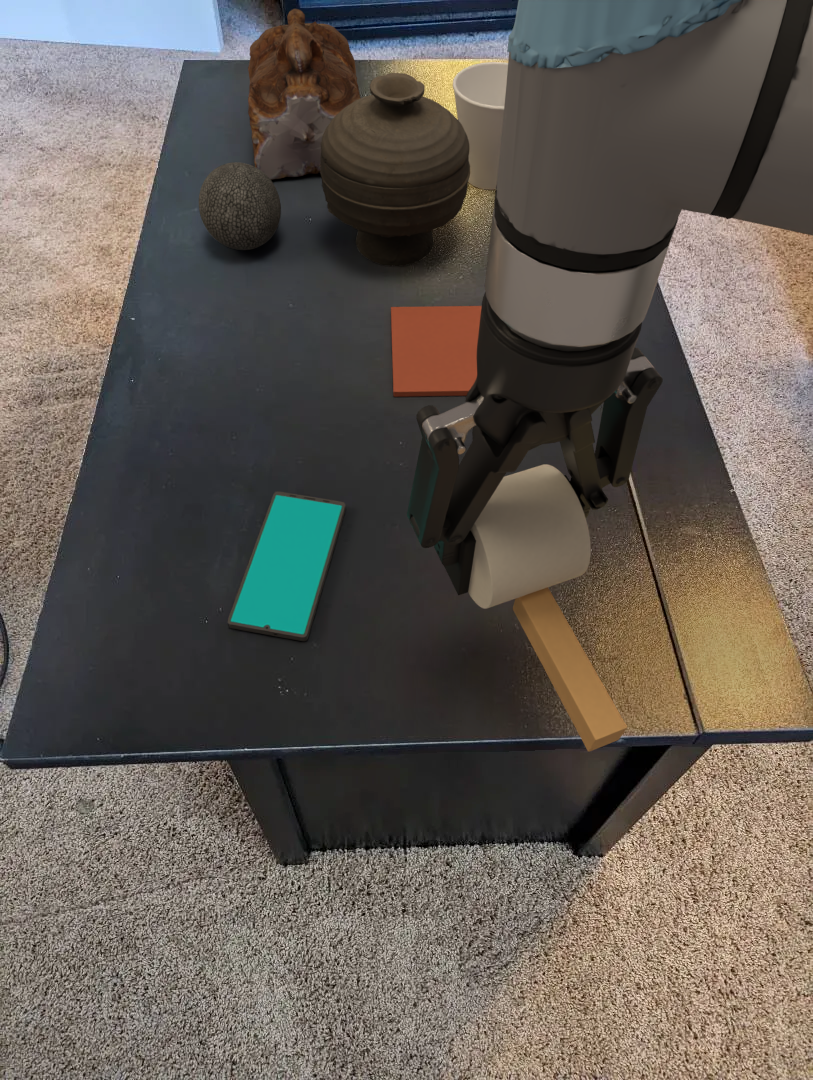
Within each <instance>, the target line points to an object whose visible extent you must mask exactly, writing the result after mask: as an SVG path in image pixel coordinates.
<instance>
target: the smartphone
mask: <svg viewBox="0 0 813 1080" xmlns="http://www.w3.org/2000/svg"><path fill="white" fill-rule="evenodd" d="M346 508H347V507H346V503H345V502H344V501H340V500H333V499H328V498H323V497H322V498H321V497H315V496H309V495H302V494H297V493H291V492H285V491H278V490H276V491H274V492H273V494H272V497H271V500H270V502H269V506H268V508H267V510H266V514H265V516H264V519H263V522H262V524H261V527H260V530H259V533H258V535H257V538H256V540H255V544H254V546H253V549H252V552H251V555H250V557H249V558H248V559H249V560H248V562H247V566H246V569H245V571H244V573H243V576H242V578H241V581H240V583H239V587H238V589H237V592H236V595H235V598H234V601H233V604H232V606H231V610H230V613H229V615H228V618H227V624H228V626H229V628H230V629H234V630H239V631H245V632H250V633H256V634H262V635H267V636H273V637H277V638H282V639H283V638H284V639H288V640H294V641H299V642H300V641H301V642H306V641H307V640H308V639H309V636H310V633H311V629H312V626H313V623H314V619H315V616H316V614H317V613H316V612H317V609H318V605H319V603H320V598H321V595H322V592H323V589H324V586H325V582H326V579H327V575H328V572H329V568H330V566H331V562H332V557H333V554H334V551H335V549H336V544H337V541H338V539H339V538H338V537H339V534H340V532H341V527H342V524H343V522H344V521H343V520H344V517H345V514H346V511H347V510H346Z"/></svg>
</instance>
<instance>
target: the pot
mask: <svg viewBox="0 0 813 1080" xmlns="http://www.w3.org/2000/svg"><path fill="white" fill-rule="evenodd" d="M425 88H426V87H425V83H423V82H421V81H419V80H417V79H416V78H415V77H414V76H412V75H410V74H407V73H402V72H401V73H400V72H391V73H387V74H383V75H378V76H376V77H374V78H372V80H371V81H370V84H369V92H370V95H366V96H363V97H361V98H360V99H358V100H356V101H354V102H353V103H351V104H350V105H348V106H346V107H345V108H344V109H342V110H341V111H340V112H339V113H338V114H337V115H336V116H335V117H334V118H333V119H332V120H331V122H330V124H329V125H328V126H327V128H326V129H325V131H324V134H323V137H322V141H321V159H320V162H321V164H320V165H321V167H320V168H321V170H320V173H319V174H320V177H321V187H322V191H323V194H324V198H325V201H326V207H327V210H328V213H330V214H331V215H333V216H334V217H335V218H337V219H338V220H339V221H340V222H342V223H343V224H346V225H347V226H350V227H351V228H354V230H357V234H356V238H355V245H356V249H357V250H358V252H359V254H360V255H361V256H363V257H364V258H365V259H367V260H369V261H371V262H373V263H375V264H378V265H380V266H385V267H405V266H409V265H414V264H415V263H418V262H420V261H421V260H424V259H425V258H427V256H429V255H430V254H431V253H432V250H433V249H434V246H435V240H434V233H433V231H434V230H436V229H440V228H443V227H445V226H446V225H447V224H448V223H450V222H451V221H453V219H454V218H455V217H456V216H457V215H458V214H459V213H460V211H461V210H462V209H463V206H464V202H465V198H466V196H467V193H468V187H469V182H468V180H469V177H470V164H469V151H470V146H469V140H468V137H467V134H466V132H465V131H464V128H463V126H462V124H461V123H460V122H459V121H458V118H457V117H456V116H455V115H454V114H453V113H452V112H451V111H450V110H448V109H447V108H446V107H444V106H443V105H441V103H439V102H437V101H436V100H433V99H431V98H428V97H426V96H424V94H425Z"/></svg>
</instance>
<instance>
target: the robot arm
mask: <svg viewBox="0 0 813 1080" xmlns="http://www.w3.org/2000/svg"><path fill="white" fill-rule="evenodd" d="M515 14H516V15H515V19H514V25H513V28H512V30H511V32H510V33H509V35H508V39H507V40H508V41H507V50H506V51H507V53H508V61H507V63H508V72H507V84H506V94H505V105H504V115H503V125H502V135H501V145H500V155H499V166H498V176H497V185H496V189H495V193H494V200H493V209H492V210H493V211H492V217H491V224H490V225H491V226H490V235H489V243H488V251H487V260H486V261H487V262H486V269H485V278H484V291H485V292H484V293H483V296H482V300H481V301H482V302H481V306H482V307H481V316H480V325H479V333H478V342H477V378H476V380H475V382H474V384H473V386H472V387H471V389H470V390H469V391H468V393H467V396H465V401H464V403H462V404H460V405H457V406H455V407H452V408H451V409H449V410H446V411H444V412H442V413H441V412H439V410H438V408H437V406H435V405H432V404H431V405H426V406H425V405H424V406H423V407H421V408H420V409H419V410H418V411H417V413H416V421H417V425H418V428H419V431H420V435H421V441H420V447H419V451H418V457H417V461H416V465H415V471H414V477H413V482H412V485H411V492H410V497H409V502H408V507H407V511H406V516H407V519H408V521H409V523H410V525H411V527H412V529H413V532H414V534H415V536H416V538H417V540H418V542H419V544H420V546H421V547H422V548H423V549H429V548H434V550H435V552H436V554H437V556H438V559H439V560H440V562H441V564H442V566H443V567H444V569H445V571H446V574H447V575H448V577H449V579H450V581H451V584H452V585H453V588H454V590H455V591H456V594H457V596H461V595H463V594H467V593H468V590H469V583H470V577H471V571H472V564H473V558H474V551H475V545H476V540H475V538H474V536H473V534H472V532H471V528H472V527H473V525H474V523H475V522H476V520H477V519H478V517H479V515H480V514H481V512H482V511H483V509H484V507H485V506H486V504H487V503H488V501H489V500H490V498H491V496H492V495H493V493H494V492H495V490H496V488H497V487H498V485H499V484H500V482H501V480H502V479H503V477H505V476H506V474H507V473H514V472H515V471H517V470H518V468H519V467H520V465H521V464H522V462H523V460H524V458H525V457H526V456H527V454H528V452H529V451H532V450H534V449H536V448H537V447H538V448H539V446H542V445H547V444H555V443H558V442H559V445H560V448H561V451H562V455H563V459H564V462H565V466H566V470H567V473H568V475H569V476H570V479H569V478H568V476H567V475H566V474H563V475H564V476H565V478H566V479H567V480H568V482H569V483H570V484H571V486H572V488H573V489H574V491H575V493H576V495H577V497H578V499H579V502H580V504H581V506H582V509H583V512H584V515H585V518H586V519H587V518H588V516H589V514H590V511H591V510H592V511H598V510H600V509H602V508H604V507H605V506H606V505H607V504H608V502H609V498H608V497H607V495H606V494H605V492H604V490H603V488H605V487H607V486H609V485H610V484H611V486H612V487H613V488H618V487H621V486H623V485H624V484H627V482H628V481H629V479H630V476H631V472H632V468H633V465H634V461H635V457H636V452H637V448H638V445H639V440H640V436H641V434H642V430H643V425H644V421H645V418H646V413H647V409H648V406H649V405H650V403H651V402H652V401H653V398H654V397H655V395H656V394H657V392H658V390H659V389H660V387H661V386H662V384H663V382H664V378H663V377H662V376H661V374H660V373H659V372H658V371H657V369H656V368H655V366H654V365H653V364H652V363H651V362H650V360H649V359H648V358H647V357H646V356H645V353H643V352H642V351H641V349H640V348H639V347H636V345H637V342H638V339H639V336H640V333H641V331H642V325H643V322H644V321H645V318H646V316H647V313H648V310H649V308H650V305H651V302H652V299H653V296H654V293H655V290H656V286H657V284H658V281H659V277H660V275H661V271H662V269H663V266H664V262H665V259H666V257H667V254H668V250H669V247H670V244H671V241H672V238H673V235H674V233H675V230H676V227H677V224H678V221H679V216H680V215H681V212H682V211H683V210H684V211H686V212H687V211H688V212H693V213H698V214H705V215H709V216H714V217H718V218H724V219H726V220H729V219H733V220H734V219H735V220H739V221H742V222H743V221H744V222H748V223H753V224H758V225H761V226H765V227H771V228H775V229H781V230H785V231H790V232H794V233H798V234H803V235H807V236H813V0H517V7H516V13H515ZM602 405H603V406H602ZM600 406H602V411H601V417H600V422H599V428H598V433H597V439H596V440H595V434H594V429H593V425H592V422H593V414H594V413H595V411H597V410H598V409H599V407H600ZM470 430H472V431H471V434H472V435H471V436H472V441H471V443H470V445H469V447H468V448H467V447H466V444H465V442H466V440H467V436H468V433H469V432H470ZM595 443H596V445H595V448H594V444H595ZM464 453H465V454H464ZM463 454H464V455H463ZM459 455H463V457H462V459H461V461H460V457H459ZM515 473H516V472H515Z"/></svg>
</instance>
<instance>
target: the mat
mask: <svg viewBox="0 0 813 1080" xmlns="http://www.w3.org/2000/svg"><path fill="white" fill-rule="evenodd" d="M481 307H482V305H447V306H445V305H444V306H442V305H441V306H438V305H437V306H433V305H432V306H391V307H390V318H391V319H390V322H391V323H390V324H391V325H390V326H391V354H392V356H391V357H392V359H391V361H392V388H393V389H392V391H393V397H394V398H396V397H397V398H399V397H400V398H401V397H403V398H404V397H405V398H406V397H407V398H408V397H453V396H454V397H463V396H465V397H466V396H467V393H468V391H469V390H470V389H471V387H472V386H473V384H474V382H475V380H476V378H477V342H478V333H479V325H480V316H481Z"/></svg>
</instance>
